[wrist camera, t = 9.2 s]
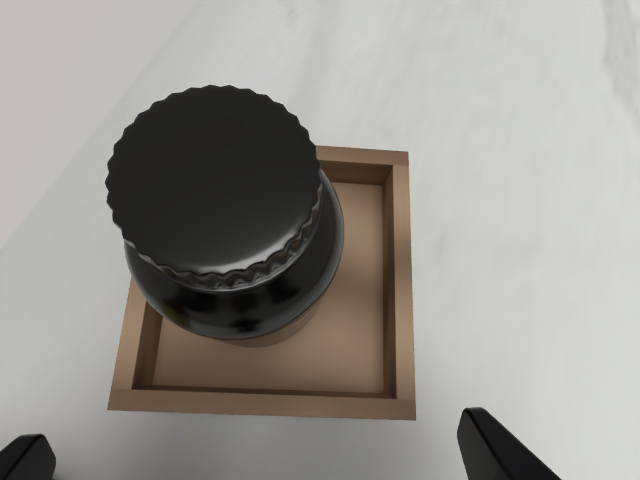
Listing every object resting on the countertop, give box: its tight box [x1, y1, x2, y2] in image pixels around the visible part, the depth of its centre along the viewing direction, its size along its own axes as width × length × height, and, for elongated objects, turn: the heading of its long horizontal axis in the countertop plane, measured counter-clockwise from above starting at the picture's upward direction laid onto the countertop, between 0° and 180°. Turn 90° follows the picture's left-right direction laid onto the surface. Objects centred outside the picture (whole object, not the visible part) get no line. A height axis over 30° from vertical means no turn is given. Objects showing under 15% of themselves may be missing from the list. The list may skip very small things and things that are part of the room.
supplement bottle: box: [105, 85, 344, 348], centre depth 14 cm, size 7×7×12 cm
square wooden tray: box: [107, 145, 416, 420], centre depth 20 cm, size 13×13×6 cm
